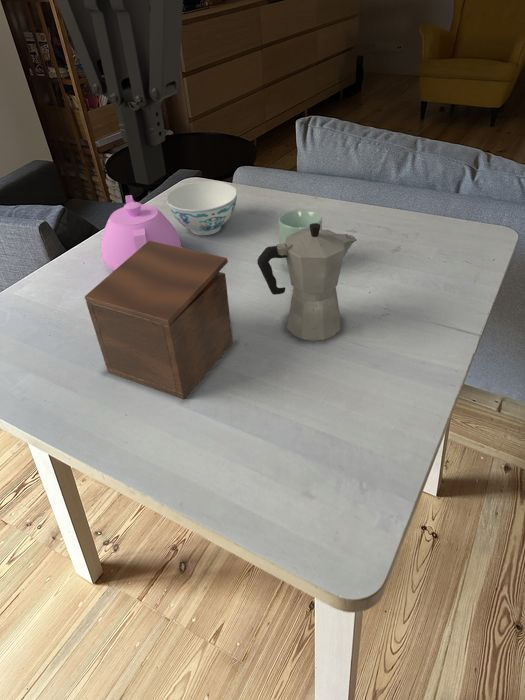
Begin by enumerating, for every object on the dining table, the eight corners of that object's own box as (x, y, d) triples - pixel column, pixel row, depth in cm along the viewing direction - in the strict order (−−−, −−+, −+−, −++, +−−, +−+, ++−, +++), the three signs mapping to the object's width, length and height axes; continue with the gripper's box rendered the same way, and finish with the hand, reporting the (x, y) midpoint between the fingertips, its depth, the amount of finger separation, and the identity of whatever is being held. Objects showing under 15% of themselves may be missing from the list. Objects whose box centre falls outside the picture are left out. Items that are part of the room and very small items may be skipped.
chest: (162, 322, 91) (147, 254, 83) (233, 343, 86) (225, 273, 77) (107, 372, 82) (85, 301, 73) (183, 399, 76) (169, 326, 68)
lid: (150, 244, 83) (148, 240, 82) (228, 262, 77) (227, 257, 77) (85, 301, 73) (84, 296, 73) (169, 325, 68) (168, 320, 67)
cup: (329, 265, 103) (330, 217, 96) (301, 281, 99) (301, 232, 92) (299, 252, 107) (298, 205, 101) (271, 267, 103) (269, 219, 97)
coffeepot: (340, 302, 93) (345, 204, 82) (362, 333, 86) (371, 230, 75) (254, 319, 90) (247, 220, 79) (270, 353, 83) (265, 249, 72)
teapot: (192, 279, 101) (183, 220, 94) (109, 296, 98) (93, 237, 91) (173, 230, 118) (163, 177, 110) (101, 243, 115) (86, 189, 107)
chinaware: (240, 211, 123) (237, 179, 119) (239, 242, 112) (236, 207, 107) (176, 215, 124) (170, 182, 119) (167, 246, 112) (161, 211, 107)
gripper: (200, -182, 35) (231, 173, 50) (53, -160, 40) (122, 156, 55) (127, -195, 30) (186, 204, 45) (-30, -167, 35) (70, 183, 50)
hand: (151, 178), depth 50 cm, fingers closed
